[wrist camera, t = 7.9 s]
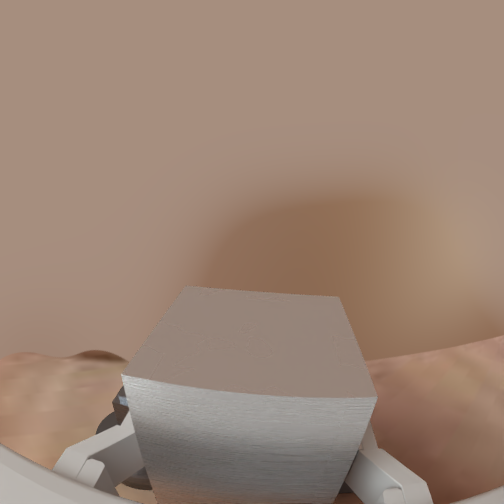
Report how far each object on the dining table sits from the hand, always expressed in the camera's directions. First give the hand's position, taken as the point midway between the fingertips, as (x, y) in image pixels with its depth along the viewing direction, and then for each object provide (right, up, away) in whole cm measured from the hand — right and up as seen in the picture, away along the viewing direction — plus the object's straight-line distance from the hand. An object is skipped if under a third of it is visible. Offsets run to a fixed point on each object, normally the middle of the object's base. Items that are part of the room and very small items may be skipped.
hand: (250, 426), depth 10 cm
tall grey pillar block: (0, -6, +1) cm, 6 cm away
